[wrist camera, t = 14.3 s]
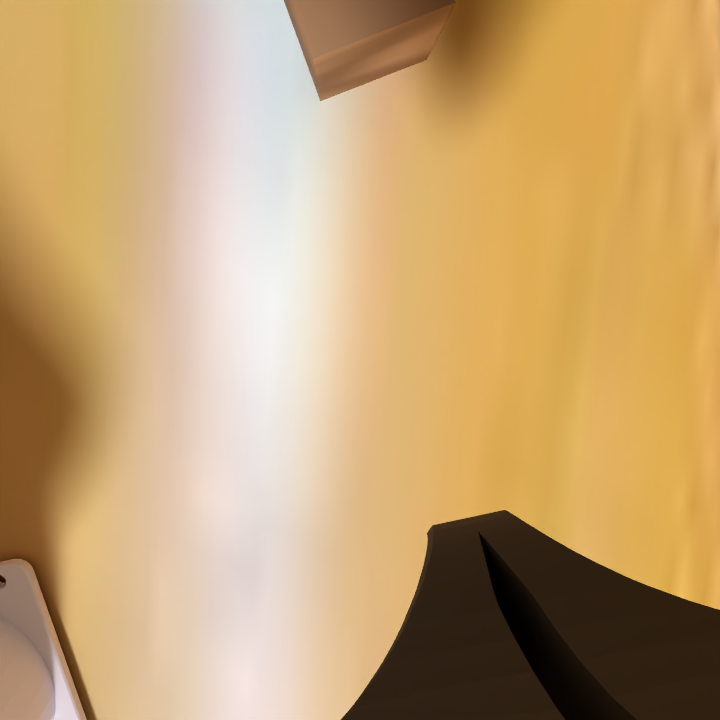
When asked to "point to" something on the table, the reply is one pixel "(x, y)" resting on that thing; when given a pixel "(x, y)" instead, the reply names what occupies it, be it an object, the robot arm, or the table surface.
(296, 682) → the table surface
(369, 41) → the tall brown box
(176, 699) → the table surface
